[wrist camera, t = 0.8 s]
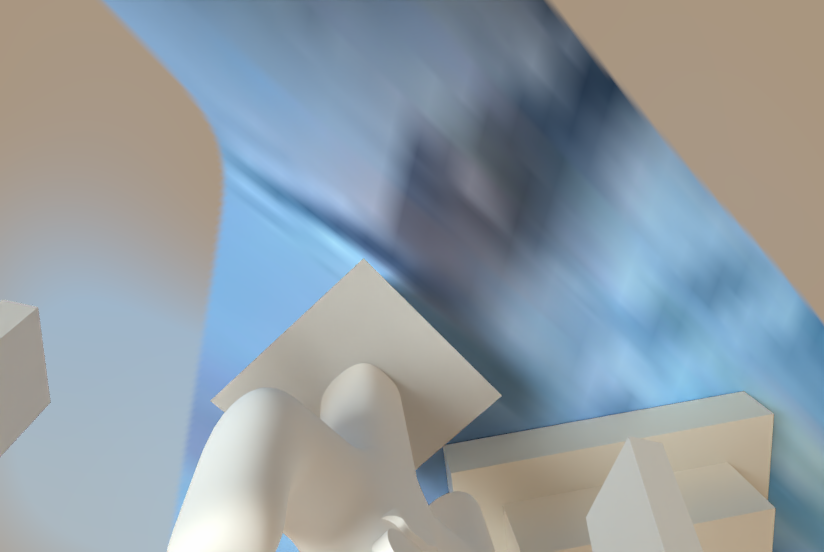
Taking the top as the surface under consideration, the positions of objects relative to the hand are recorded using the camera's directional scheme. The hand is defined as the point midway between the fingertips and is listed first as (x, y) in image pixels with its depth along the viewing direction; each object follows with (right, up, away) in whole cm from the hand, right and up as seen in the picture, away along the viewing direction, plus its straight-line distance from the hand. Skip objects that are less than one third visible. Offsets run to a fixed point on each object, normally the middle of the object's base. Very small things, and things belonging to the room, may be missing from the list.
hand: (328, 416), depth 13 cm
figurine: (0, 0, +11) cm, 11 cm away
